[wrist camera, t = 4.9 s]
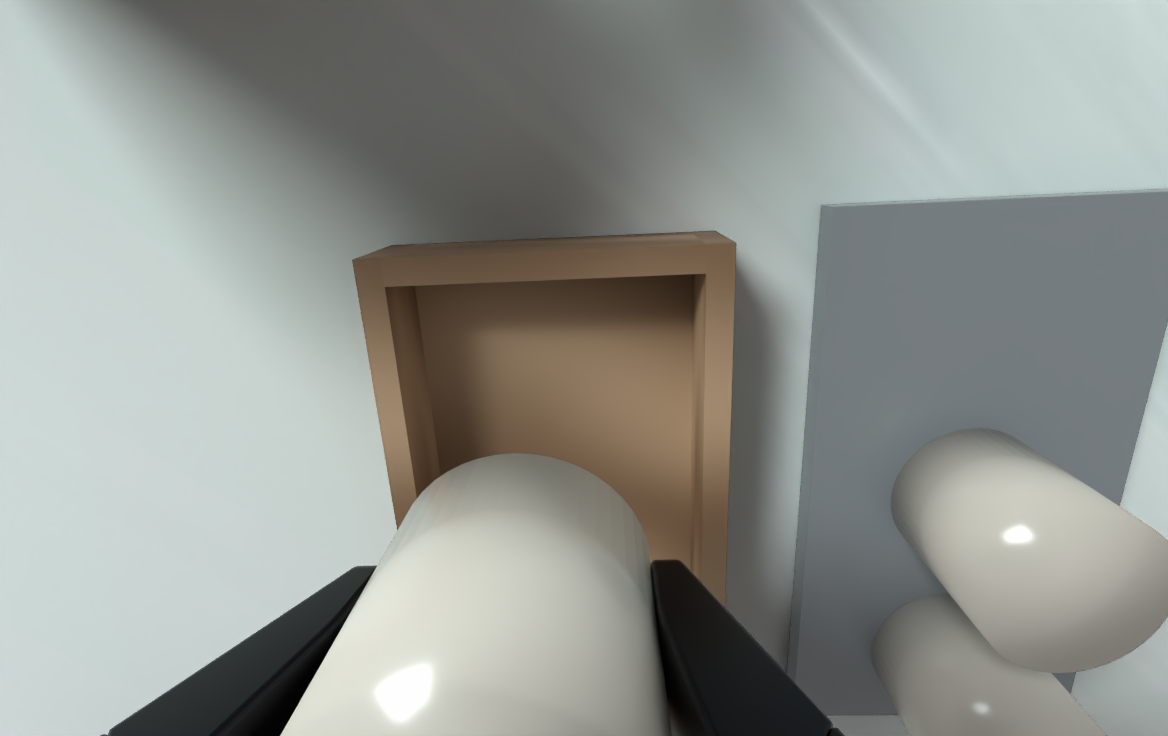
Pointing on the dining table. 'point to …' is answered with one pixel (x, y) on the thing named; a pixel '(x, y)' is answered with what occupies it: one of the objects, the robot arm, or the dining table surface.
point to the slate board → (958, 384)
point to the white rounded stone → (966, 679)
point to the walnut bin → (564, 370)
